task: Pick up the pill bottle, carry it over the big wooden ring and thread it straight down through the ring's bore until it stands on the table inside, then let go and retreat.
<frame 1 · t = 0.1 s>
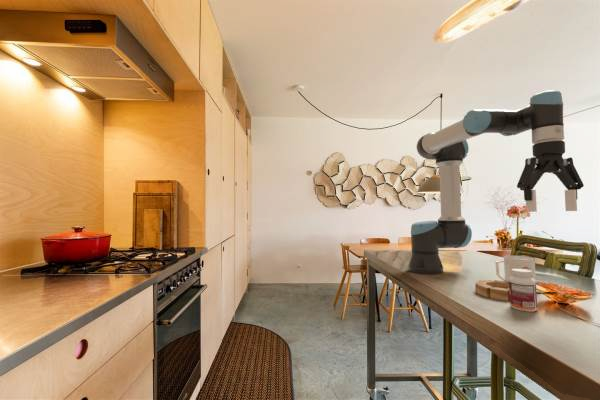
hand: (551, 211, 86), 28 cm above the table, fingers open, 13 cm apart
lace: (539, 293, 96), on the table
pill bottle: (523, 309, 81), on the table
wooden ring: (500, 294, 95), on the table
mug: (515, 288, 102), on the table
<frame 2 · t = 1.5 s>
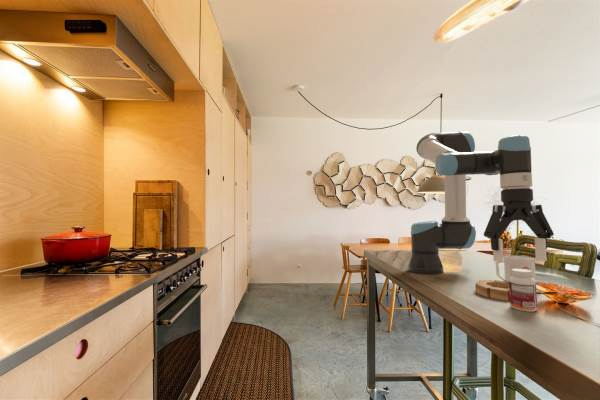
hand: (520, 261, 82), 14 cm above the table, fingers open, 13 cm apart
nothing on the table moved.
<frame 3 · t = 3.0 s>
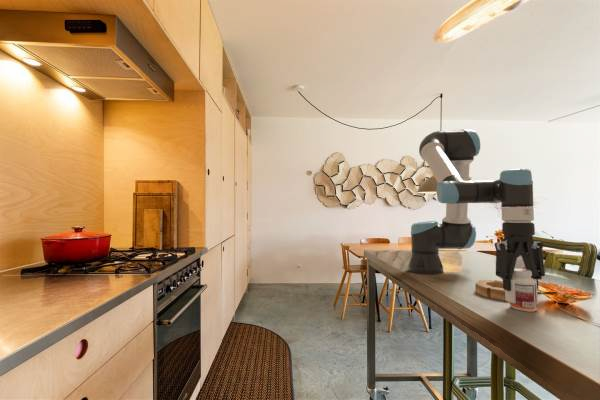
hand: (521, 301, 82), 2 cm above the table, fingers closed on pill bottle, 6 cm apart
pill bottle: (523, 309, 81), on the table, touching gripper
everything else where it was.
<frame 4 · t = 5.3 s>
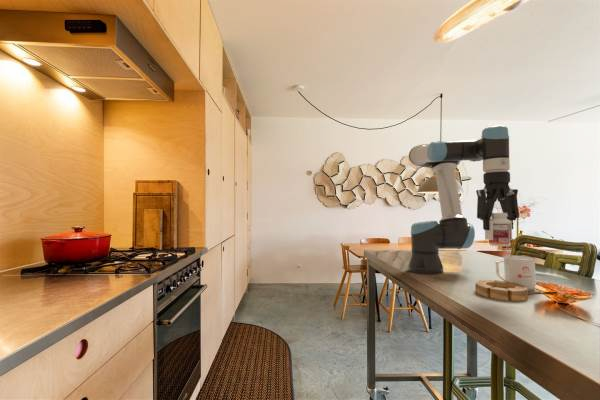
hand: (498, 239, 96), 18 cm above the table, fingers closed on pill bottle, 6 cm apart
pill bottle: (500, 245, 95), point 16 cm above the table, touching gripper
everything else where it was.
when the fingers open (4 cm above the table, at t = 7.9 s): pill bottle drops 2 cm, resting in wooden ring.
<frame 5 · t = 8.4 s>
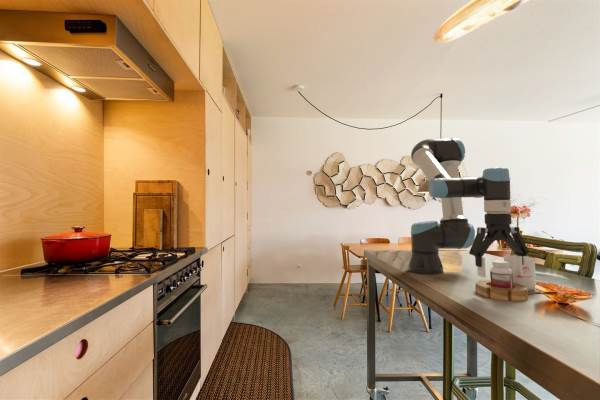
hand: (500, 275, 95), 6 cm above the table, fingers open, 13 cm apart
pill bottle: (502, 295, 95), resting in wooden ring
everything else where it was.
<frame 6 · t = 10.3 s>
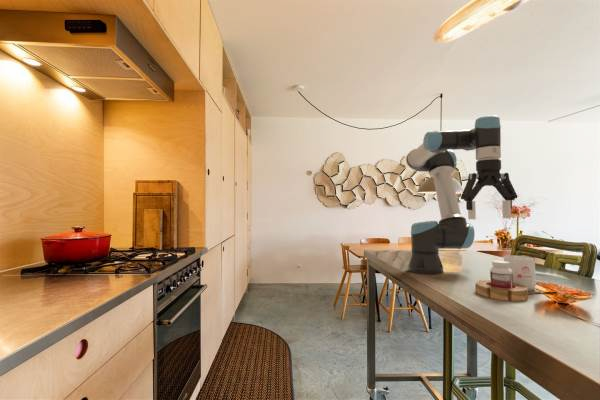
hand: (489, 218, 101), 25 cm above the table, fingers open, 13 cm apart
nothing on the table moved.
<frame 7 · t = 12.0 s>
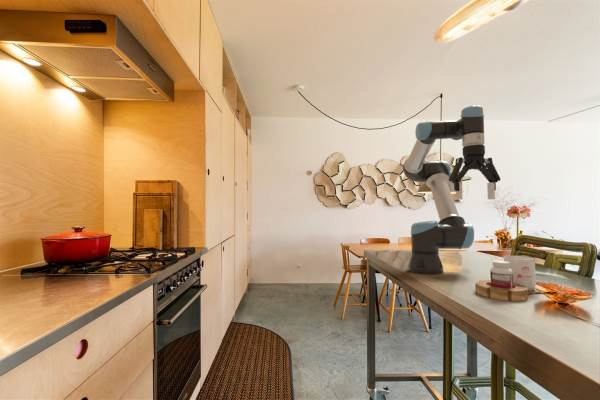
hand: (475, 199, 111), 33 cm above the table, fingers open, 13 cm apart
nothing on the table moved.
at the end: pill bottle 0.4 cm off-centre on the wooden ring, point 0.0 cm above the wooden ring's base; pill bottle tilted 1°; the gripper is holding nothing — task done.
